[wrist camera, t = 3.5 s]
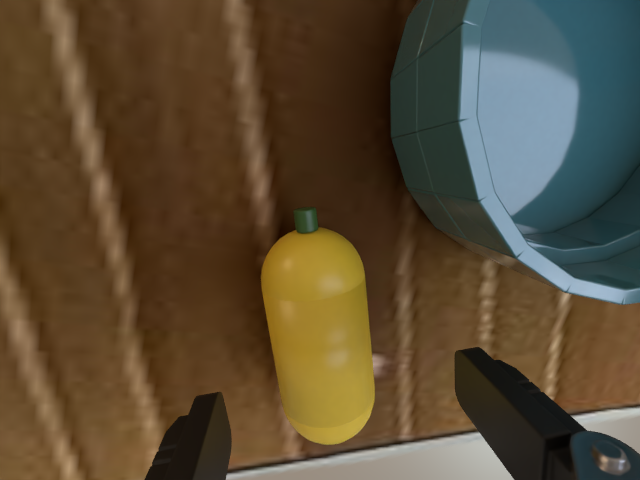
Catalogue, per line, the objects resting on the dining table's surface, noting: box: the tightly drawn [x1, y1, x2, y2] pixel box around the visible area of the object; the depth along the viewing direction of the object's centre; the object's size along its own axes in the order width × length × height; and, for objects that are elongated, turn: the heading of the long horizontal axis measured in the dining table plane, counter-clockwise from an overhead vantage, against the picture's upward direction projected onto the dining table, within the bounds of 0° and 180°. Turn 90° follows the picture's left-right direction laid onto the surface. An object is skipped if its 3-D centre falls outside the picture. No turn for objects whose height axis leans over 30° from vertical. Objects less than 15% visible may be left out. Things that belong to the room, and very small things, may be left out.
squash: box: [261, 207, 375, 445], centre depth 14 cm, size 11×4×4 cm, turn 7°
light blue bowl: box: [390, 0, 640, 305], centre depth 12 cm, size 15×15×6 cm
